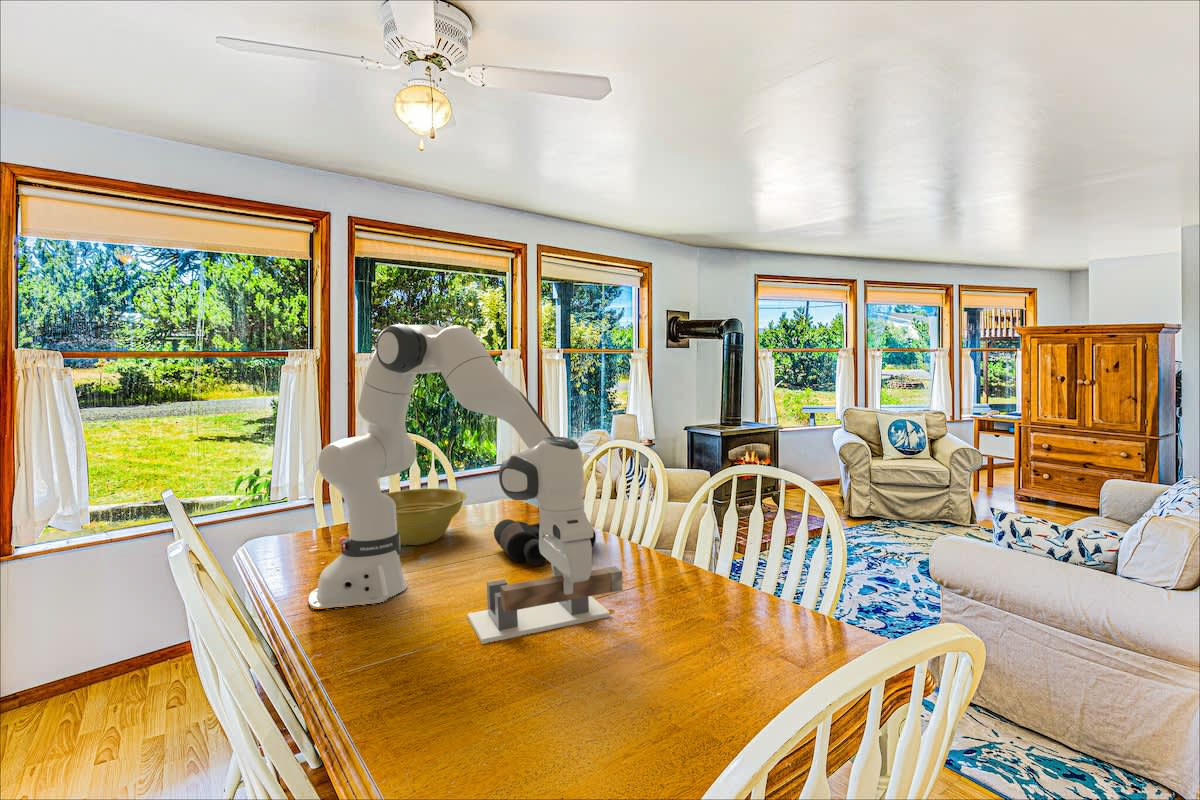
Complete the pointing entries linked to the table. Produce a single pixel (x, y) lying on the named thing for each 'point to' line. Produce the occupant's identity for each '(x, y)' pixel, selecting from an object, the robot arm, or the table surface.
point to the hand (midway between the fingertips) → (563, 589)
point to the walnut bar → (558, 589)
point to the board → (530, 616)
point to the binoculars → (522, 541)
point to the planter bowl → (425, 513)
